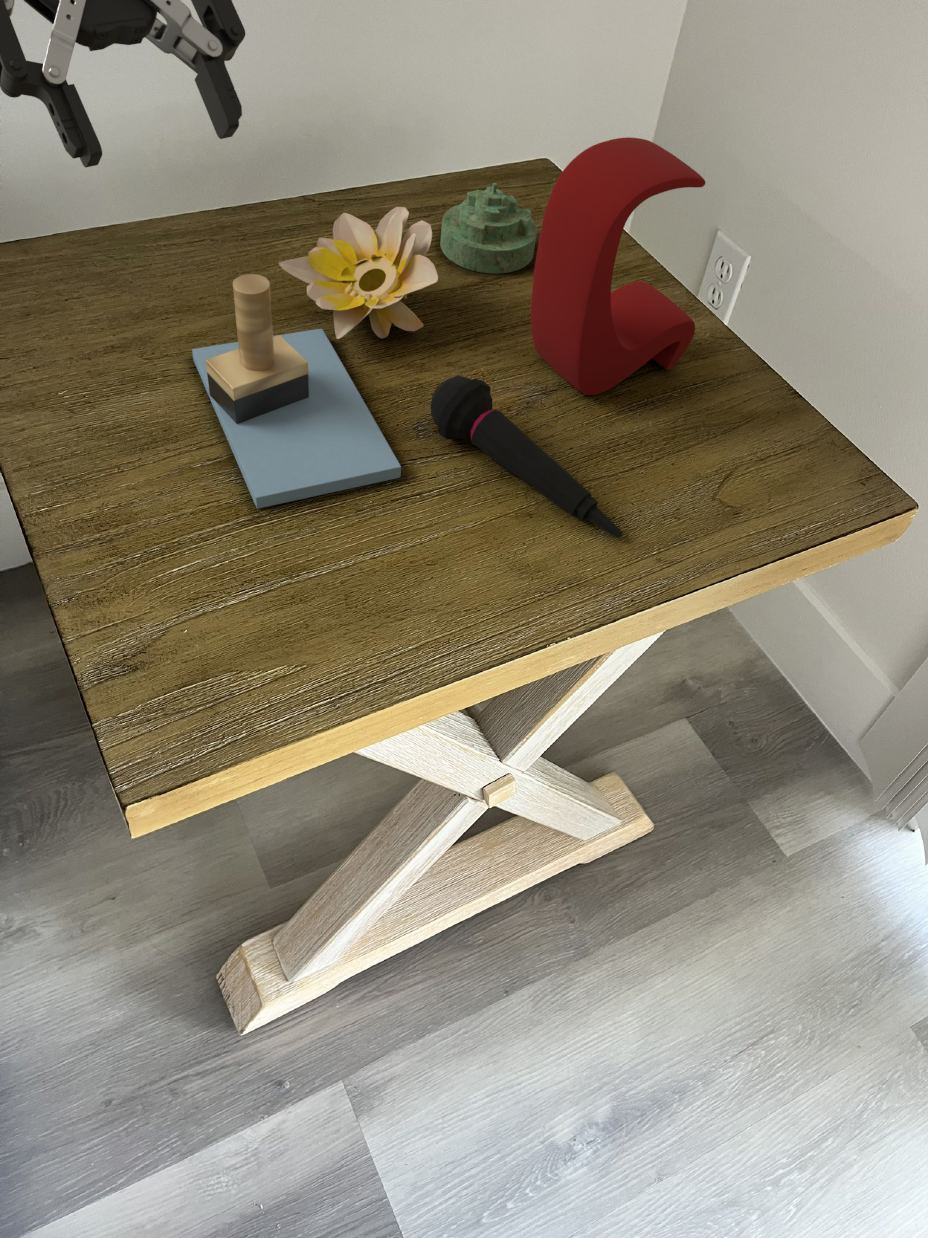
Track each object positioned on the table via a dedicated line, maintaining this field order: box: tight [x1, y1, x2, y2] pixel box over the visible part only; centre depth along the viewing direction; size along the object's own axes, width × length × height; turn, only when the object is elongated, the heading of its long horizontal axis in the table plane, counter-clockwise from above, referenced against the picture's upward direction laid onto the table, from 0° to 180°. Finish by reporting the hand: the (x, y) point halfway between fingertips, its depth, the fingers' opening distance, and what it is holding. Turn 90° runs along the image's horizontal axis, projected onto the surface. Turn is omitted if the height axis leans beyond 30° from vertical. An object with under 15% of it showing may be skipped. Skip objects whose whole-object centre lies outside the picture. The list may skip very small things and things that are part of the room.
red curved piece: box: [530, 136, 706, 396], centre depth 85 cm, size 15×7×20 cm, turn 123°
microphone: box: [430, 374, 623, 539], centre depth 80 cm, size 6×6×20 cm
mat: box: [191, 328, 402, 510], centre depth 83 cm, size 12×20×1 cm, turn 24°
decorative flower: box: [278, 206, 439, 340], centre depth 91 cm, size 15×11×10 cm
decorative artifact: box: [439, 182, 538, 275], centre depth 102 cm, size 10×7×10 cm
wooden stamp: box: [206, 273, 309, 424], centre depth 79 cm, size 7×4×11 cm, turn 128°
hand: (164, 146), depth 57 cm, fingers open, 8 cm apart
